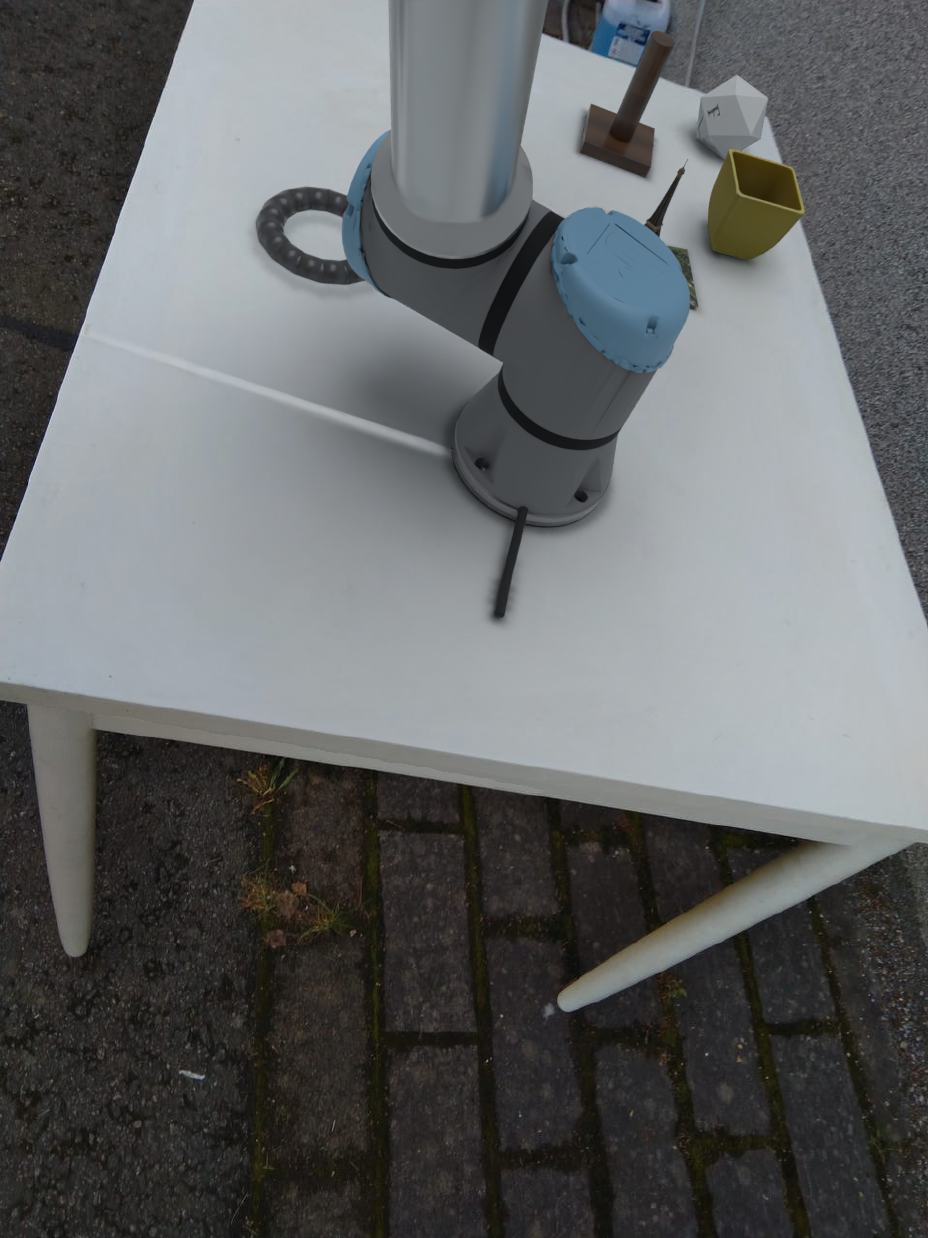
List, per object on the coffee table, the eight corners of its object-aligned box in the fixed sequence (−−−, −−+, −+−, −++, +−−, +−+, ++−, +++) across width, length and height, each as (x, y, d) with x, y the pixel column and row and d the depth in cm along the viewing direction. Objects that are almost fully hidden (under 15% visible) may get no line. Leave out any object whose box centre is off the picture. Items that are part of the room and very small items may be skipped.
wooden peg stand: (645, 177, 114) (697, 71, 103) (579, 151, 113) (624, 42, 102) (650, 138, 119) (699, 33, 108) (586, 114, 118) (630, 5, 106)
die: (687, 120, 125) (693, 74, 115) (753, 101, 124) (764, 52, 114) (700, 177, 125) (707, 136, 115) (766, 159, 123) (778, 115, 113)
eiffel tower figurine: (574, 282, 100) (625, 174, 89) (568, 223, 105) (615, 113, 94) (696, 309, 103) (759, 209, 92) (684, 251, 108) (743, 149, 97)
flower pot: (763, 276, 110) (806, 213, 103) (699, 258, 108) (738, 193, 101) (753, 230, 115) (794, 166, 107) (691, 212, 113) (728, 146, 105)
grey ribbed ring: (370, 310, 89) (375, 290, 87) (238, 265, 87) (240, 243, 85) (398, 230, 96) (403, 209, 94) (277, 187, 94) (279, 164, 92)
